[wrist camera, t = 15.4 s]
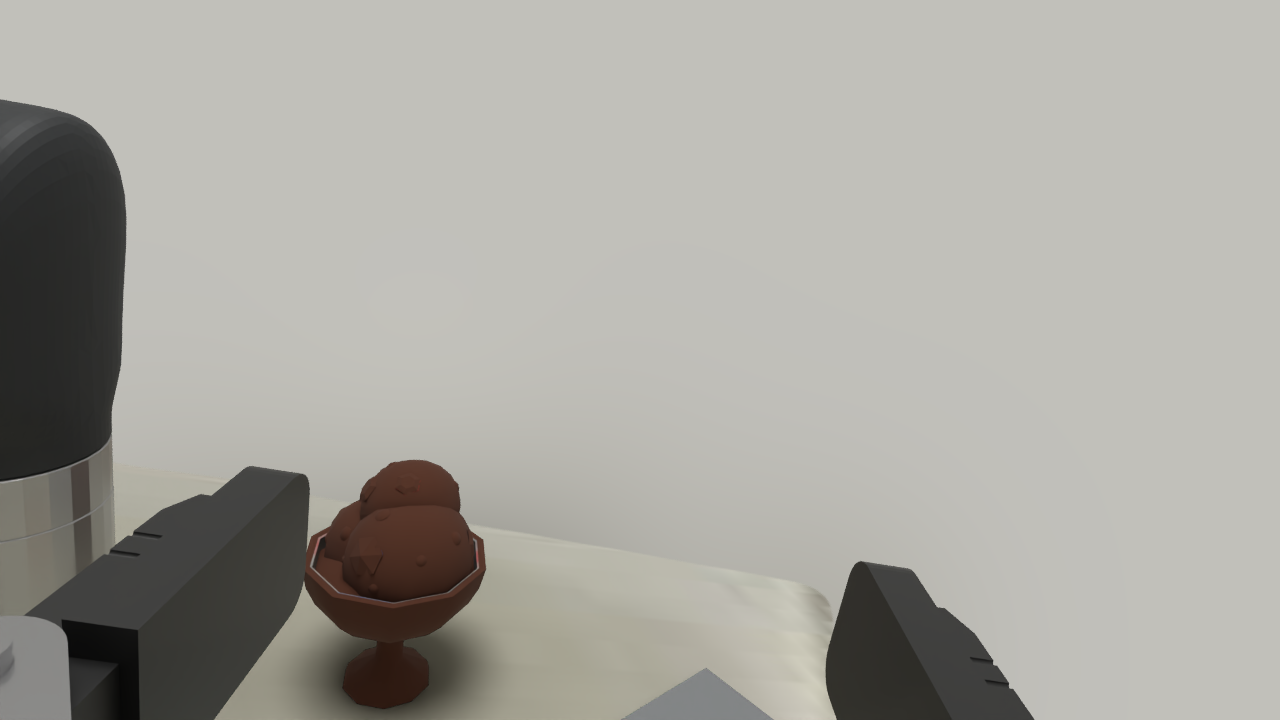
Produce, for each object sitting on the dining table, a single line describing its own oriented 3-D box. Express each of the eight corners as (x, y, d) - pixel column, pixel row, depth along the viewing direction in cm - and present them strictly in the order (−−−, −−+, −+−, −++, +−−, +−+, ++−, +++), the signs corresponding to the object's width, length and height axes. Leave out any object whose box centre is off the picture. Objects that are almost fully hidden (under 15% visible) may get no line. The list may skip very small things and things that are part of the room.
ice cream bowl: (282, 646, 50) (291, 443, 45) (444, 612, 56) (464, 431, 52) (310, 764, 41) (324, 529, 37) (496, 709, 47) (526, 503, 43)
